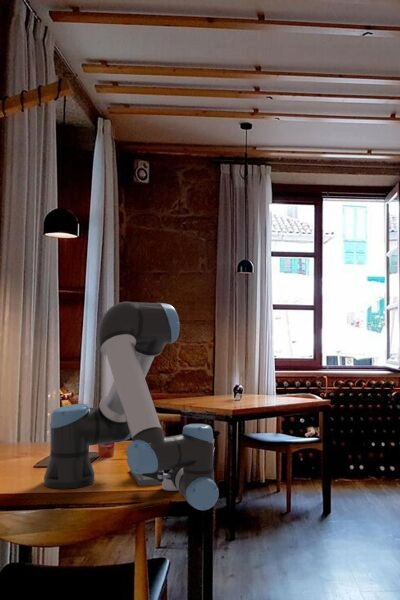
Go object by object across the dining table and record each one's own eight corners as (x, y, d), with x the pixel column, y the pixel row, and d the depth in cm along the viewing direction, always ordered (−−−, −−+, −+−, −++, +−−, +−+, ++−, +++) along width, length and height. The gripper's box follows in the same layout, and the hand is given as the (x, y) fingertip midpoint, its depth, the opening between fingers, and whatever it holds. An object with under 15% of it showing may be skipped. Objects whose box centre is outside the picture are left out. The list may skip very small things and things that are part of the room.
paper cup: (92, 457, 198) (92, 419, 199) (102, 453, 205) (102, 416, 206) (110, 459, 196) (110, 420, 197) (120, 454, 203) (120, 417, 204)
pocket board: (139, 485, 160) (139, 476, 160) (129, 471, 177) (129, 462, 177) (178, 482, 163) (177, 473, 163) (165, 468, 181) (165, 460, 181)
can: (180, 492, 153) (180, 449, 154) (159, 490, 154) (159, 448, 155) (186, 485, 159) (185, 445, 160) (165, 484, 160) (165, 444, 161)
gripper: (141, 498, 136) (129, 477, 156) (233, 490, 143) (209, 471, 163) (141, 468, 137) (129, 452, 157) (232, 461, 144) (209, 446, 164)
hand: (170, 461), depth 160 cm, fingers open, 13 cm apart
